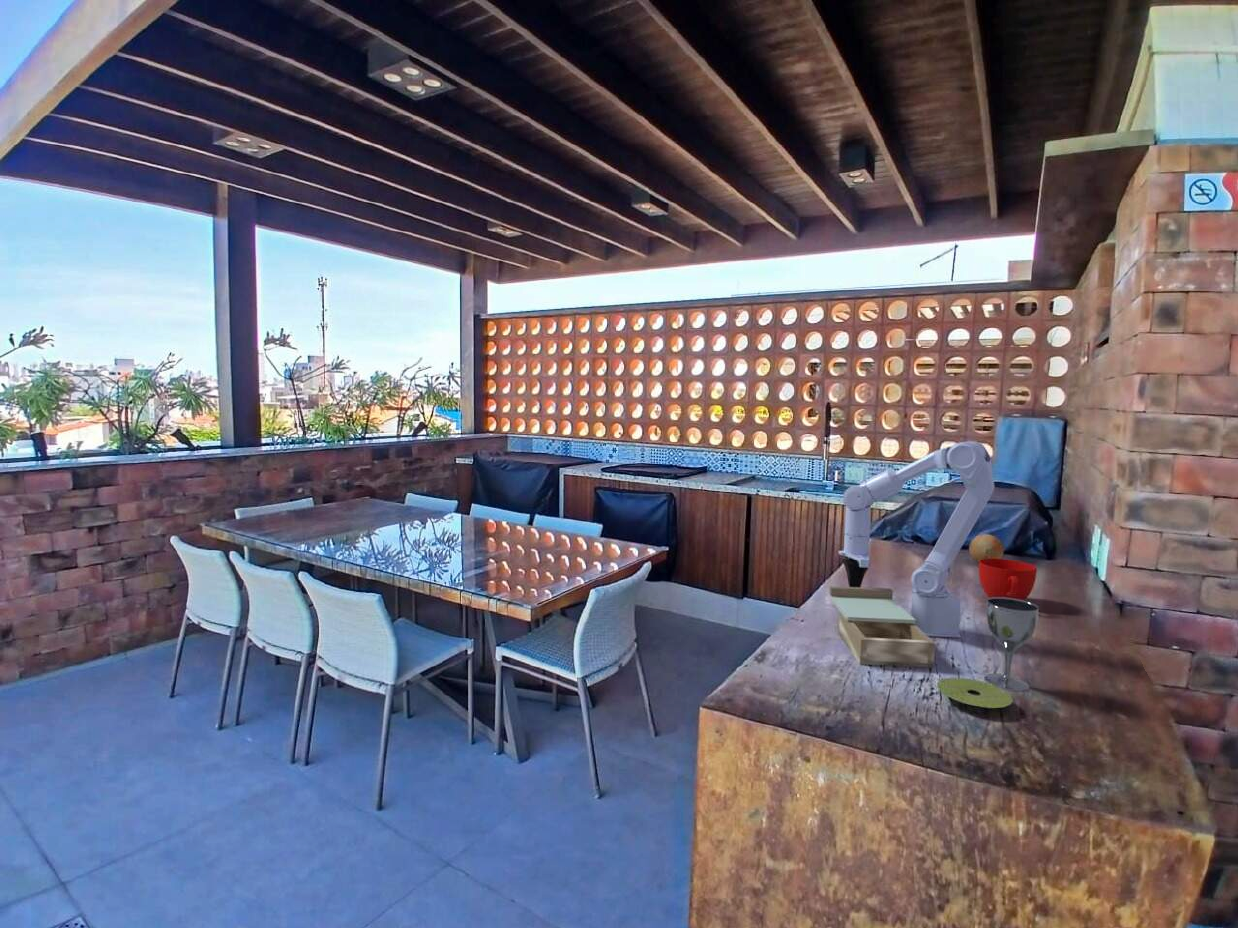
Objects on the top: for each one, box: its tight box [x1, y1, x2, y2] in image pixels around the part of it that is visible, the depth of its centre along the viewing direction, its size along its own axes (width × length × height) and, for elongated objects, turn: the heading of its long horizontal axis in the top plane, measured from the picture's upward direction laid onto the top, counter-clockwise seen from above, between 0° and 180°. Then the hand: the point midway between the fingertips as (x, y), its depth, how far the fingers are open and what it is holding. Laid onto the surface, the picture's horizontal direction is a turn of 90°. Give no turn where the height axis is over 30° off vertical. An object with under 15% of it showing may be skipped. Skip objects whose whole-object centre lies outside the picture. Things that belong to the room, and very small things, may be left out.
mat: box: [936, 677, 1013, 709], centre depth 106 cm, size 11×11×2 cm
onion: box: [968, 533, 1004, 563], centre depth 202 cm, size 10×10×10 cm
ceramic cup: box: [978, 558, 1038, 601], centre depth 161 cm, size 13×17×10 cm
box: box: [838, 612, 936, 669], centre depth 128 cm, size 14×16×5 cm
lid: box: [828, 585, 916, 624], centre depth 138 cm, size 14×16×3 cm
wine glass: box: [984, 597, 1039, 692], centre depth 113 cm, size 8×8×15 cm
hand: (854, 589), depth 150 cm, fingers closed
